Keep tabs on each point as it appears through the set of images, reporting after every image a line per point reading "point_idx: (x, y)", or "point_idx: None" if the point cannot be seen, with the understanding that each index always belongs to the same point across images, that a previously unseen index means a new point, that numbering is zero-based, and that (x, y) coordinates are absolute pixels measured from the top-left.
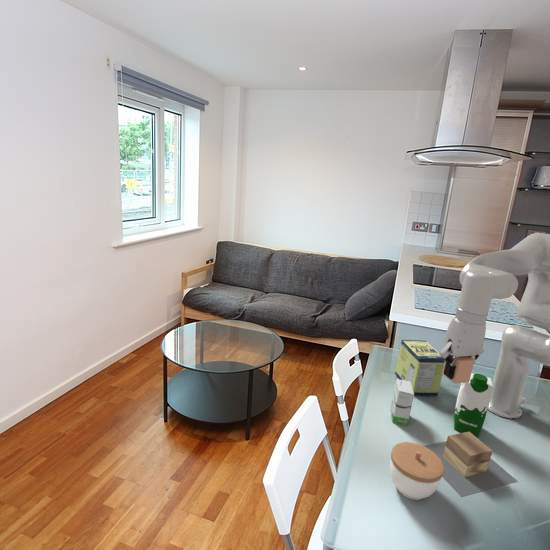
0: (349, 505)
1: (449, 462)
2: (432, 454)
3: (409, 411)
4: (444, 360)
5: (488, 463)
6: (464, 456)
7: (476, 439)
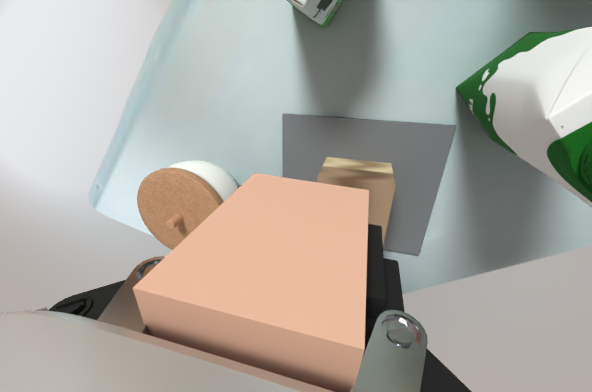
0: (119, 177)
1: None
2: None
3: (314, 19)
4: (142, 263)
5: None
6: None
7: (382, 213)
